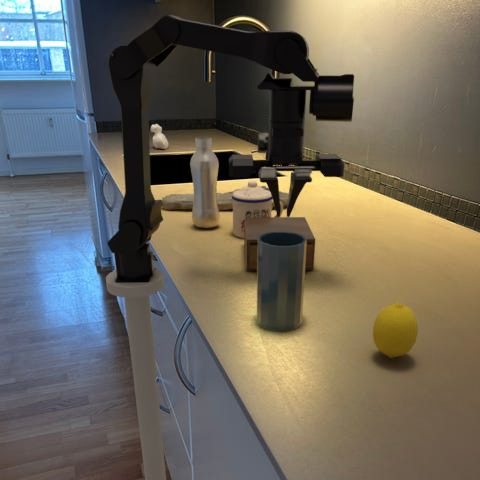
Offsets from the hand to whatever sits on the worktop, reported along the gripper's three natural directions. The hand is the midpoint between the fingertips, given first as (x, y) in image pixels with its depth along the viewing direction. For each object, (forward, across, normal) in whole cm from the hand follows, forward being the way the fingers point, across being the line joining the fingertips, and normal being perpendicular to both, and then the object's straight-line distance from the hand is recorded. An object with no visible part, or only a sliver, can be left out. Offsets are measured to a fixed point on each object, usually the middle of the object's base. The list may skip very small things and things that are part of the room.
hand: (283, 216), depth 89 cm
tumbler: (+11, +2, +18) cm, 22 cm away
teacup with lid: (+11, +3, -26) cm, 28 cm away
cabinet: (+11, 0, -10) cm, 15 cm away
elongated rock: (+11, +10, -49) cm, 51 cm away
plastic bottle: (+11, +15, -31) cm, 36 cm away
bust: (+11, +40, -150) cm, 155 cm away
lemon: (+11, -12, +29) cm, 34 cm away
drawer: (+10, 0, -6) cm, 12 cm away
